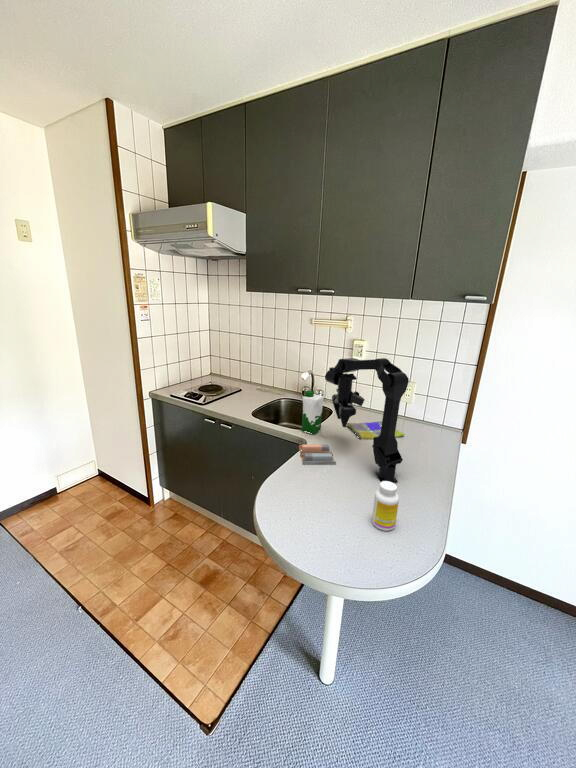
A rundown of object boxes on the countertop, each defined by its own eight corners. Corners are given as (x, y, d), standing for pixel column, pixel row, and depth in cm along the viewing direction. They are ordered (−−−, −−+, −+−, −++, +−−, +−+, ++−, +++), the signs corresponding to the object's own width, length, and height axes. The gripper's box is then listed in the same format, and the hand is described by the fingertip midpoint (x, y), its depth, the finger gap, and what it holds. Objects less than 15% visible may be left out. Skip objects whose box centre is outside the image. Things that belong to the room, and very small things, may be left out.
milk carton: (306, 426, 161) (309, 388, 155) (323, 430, 156) (325, 392, 151) (298, 432, 153) (300, 392, 148) (315, 436, 149) (318, 396, 144)
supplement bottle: (398, 531, 89) (404, 492, 86) (376, 532, 89) (381, 492, 85) (389, 515, 96) (395, 478, 92) (368, 516, 95) (373, 479, 92)
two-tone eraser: (302, 452, 132) (303, 447, 131) (302, 449, 134) (302, 444, 133) (328, 452, 133) (328, 447, 132) (327, 449, 135) (327, 444, 134)
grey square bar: (330, 459, 127) (331, 453, 127) (332, 462, 125) (332, 456, 124) (304, 458, 126) (304, 453, 126) (304, 462, 124) (305, 456, 123)
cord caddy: (335, 466, 123) (336, 462, 123) (302, 466, 122) (303, 462, 122) (328, 448, 137) (328, 445, 137) (298, 448, 136) (299, 444, 136)
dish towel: (405, 439, 152) (406, 433, 151) (357, 441, 147) (358, 435, 147) (388, 424, 168) (388, 420, 167) (344, 426, 164) (345, 421, 163)
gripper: (370, 395, 123) (366, 431, 127) (357, 382, 141) (353, 415, 145) (342, 394, 122) (339, 431, 126) (332, 382, 140) (330, 414, 144)
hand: (341, 422), depth 135 cm, fingers open, 9 cm apart
